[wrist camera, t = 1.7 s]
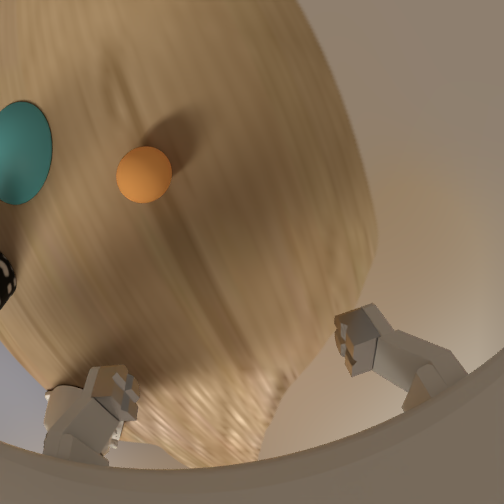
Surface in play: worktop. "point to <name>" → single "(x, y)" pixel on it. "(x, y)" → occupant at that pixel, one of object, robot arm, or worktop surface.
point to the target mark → (23, 152)
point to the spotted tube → (6, 280)
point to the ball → (144, 174)
